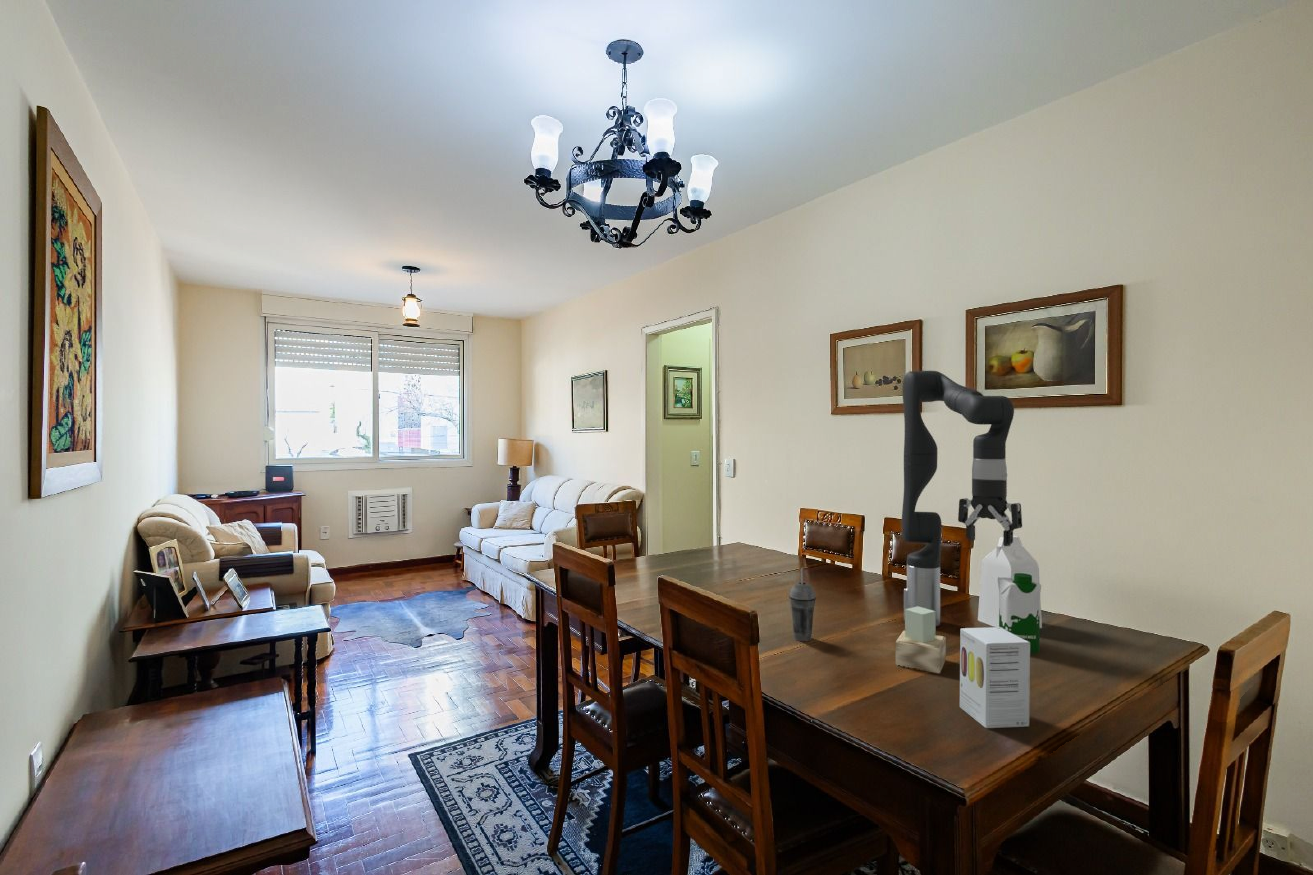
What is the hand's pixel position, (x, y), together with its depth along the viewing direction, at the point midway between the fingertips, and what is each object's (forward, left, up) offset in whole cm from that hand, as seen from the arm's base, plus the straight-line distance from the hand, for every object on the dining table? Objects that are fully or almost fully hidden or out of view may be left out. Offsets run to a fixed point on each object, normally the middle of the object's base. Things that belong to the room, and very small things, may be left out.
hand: (989, 543), depth 151 cm
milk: (-12, +37, -30) cm, 49 cm away
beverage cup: (-40, -22, -30) cm, 55 cm away
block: (-11, -12, -24) cm, 29 cm away
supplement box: (+14, -27, -30) cm, 43 cm away
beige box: (-11, -12, -30) cm, 34 cm away
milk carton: (-1, +18, -30) cm, 35 cm away
